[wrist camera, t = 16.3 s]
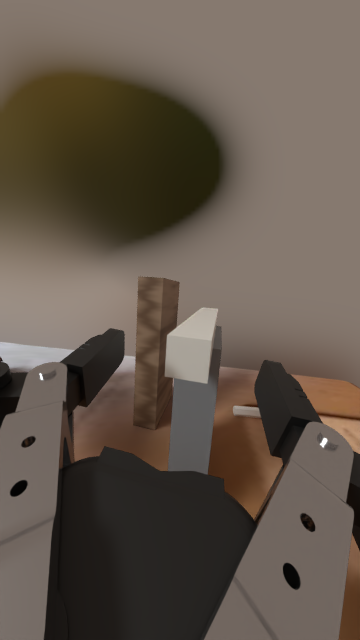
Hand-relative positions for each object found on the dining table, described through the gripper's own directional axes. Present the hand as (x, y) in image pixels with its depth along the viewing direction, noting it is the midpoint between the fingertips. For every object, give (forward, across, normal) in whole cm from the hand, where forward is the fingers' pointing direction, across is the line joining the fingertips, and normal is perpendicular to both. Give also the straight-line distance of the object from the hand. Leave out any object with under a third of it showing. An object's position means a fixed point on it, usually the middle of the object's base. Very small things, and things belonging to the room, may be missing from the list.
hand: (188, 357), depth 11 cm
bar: (+13, -1, +5) cm, 14 cm away
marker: (+28, -21, +33) cm, 48 cm away
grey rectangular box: (+10, -3, +29) cm, 31 cm away
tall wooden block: (+24, +7, +34) cm, 42 cm away
